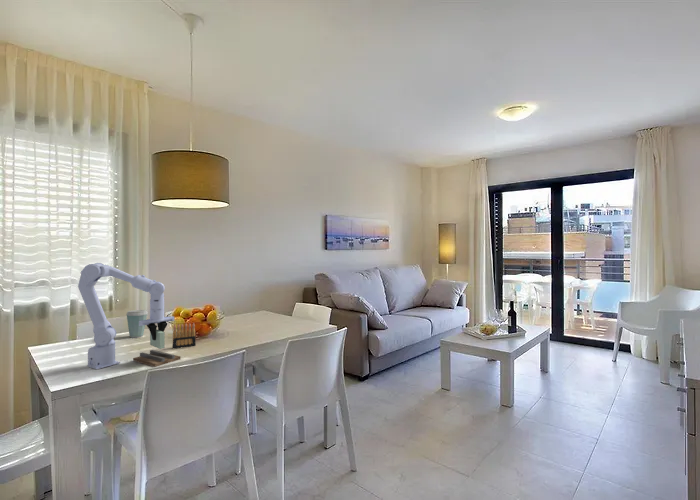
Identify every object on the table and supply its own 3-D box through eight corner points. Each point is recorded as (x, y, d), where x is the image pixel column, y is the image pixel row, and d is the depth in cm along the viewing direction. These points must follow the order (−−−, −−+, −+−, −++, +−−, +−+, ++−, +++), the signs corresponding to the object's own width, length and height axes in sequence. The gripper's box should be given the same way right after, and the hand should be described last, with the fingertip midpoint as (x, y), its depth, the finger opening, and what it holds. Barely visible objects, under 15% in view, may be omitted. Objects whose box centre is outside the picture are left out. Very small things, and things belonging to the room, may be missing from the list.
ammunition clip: (172, 348, 182) (172, 324, 181) (172, 347, 183) (172, 324, 183) (195, 345, 187) (195, 322, 187) (195, 345, 189) (195, 322, 188)
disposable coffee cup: (124, 336, 205) (124, 309, 204) (145, 333, 212) (146, 307, 211) (127, 340, 197) (127, 312, 196) (149, 336, 203) (150, 310, 203)
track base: (155, 366, 155) (155, 360, 155) (133, 360, 162) (133, 354, 162) (180, 359, 165) (180, 353, 165) (158, 353, 173) (158, 348, 173)
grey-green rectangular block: (159, 348, 160) (159, 333, 159) (150, 344, 166) (150, 329, 166) (164, 347, 161) (164, 332, 161) (154, 343, 167) (154, 328, 167)
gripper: (169, 306, 171) (169, 334, 172) (136, 310, 160) (136, 340, 160) (176, 307, 167) (176, 337, 167) (142, 312, 156) (142, 343, 156)
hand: (157, 339), depth 164 cm, fingers closed on grey-green rectangular block, 2 cm apart
